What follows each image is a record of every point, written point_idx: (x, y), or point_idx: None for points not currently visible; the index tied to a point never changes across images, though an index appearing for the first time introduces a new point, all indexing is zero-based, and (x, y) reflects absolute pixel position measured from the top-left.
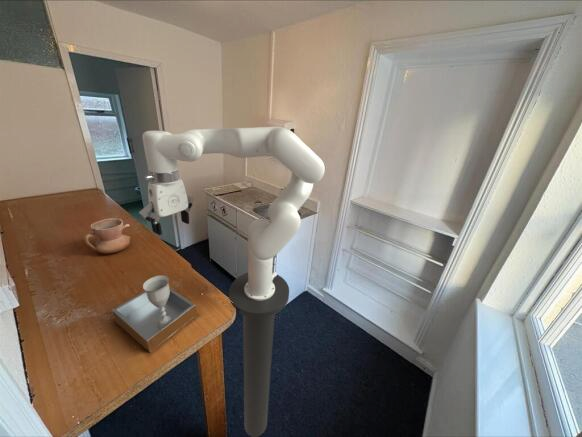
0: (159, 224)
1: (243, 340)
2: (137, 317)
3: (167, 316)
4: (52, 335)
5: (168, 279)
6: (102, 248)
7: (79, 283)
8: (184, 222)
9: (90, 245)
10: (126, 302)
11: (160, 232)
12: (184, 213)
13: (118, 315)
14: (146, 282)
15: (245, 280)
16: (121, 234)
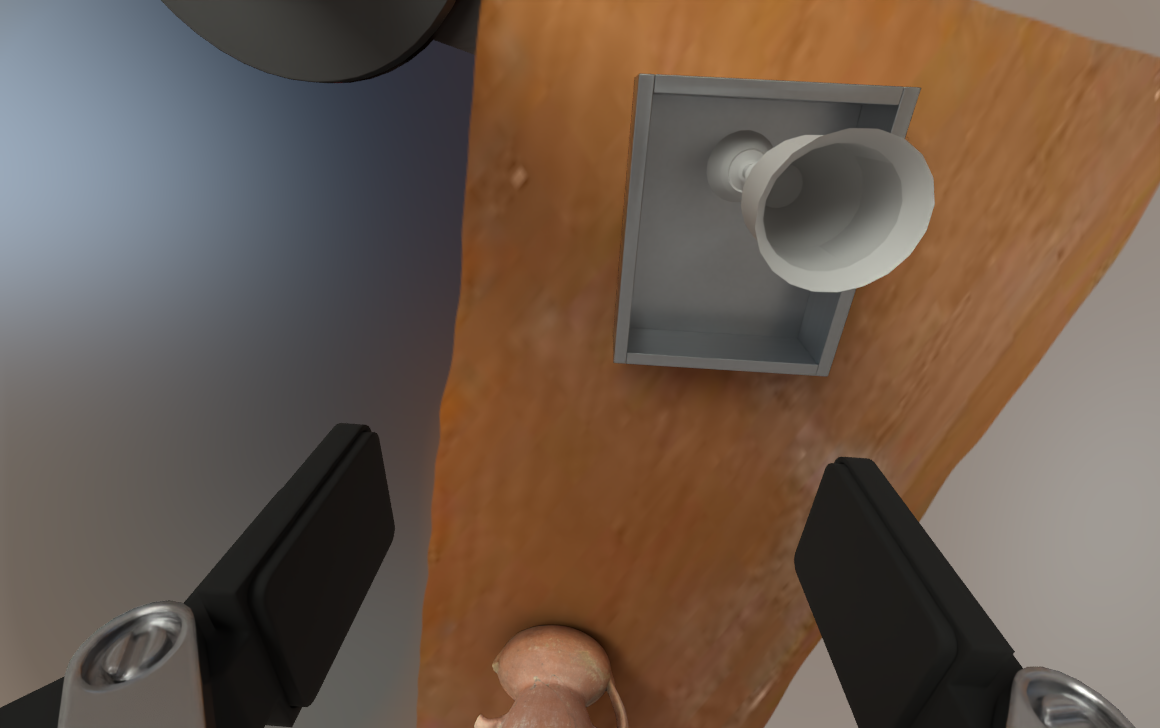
0: (967, 624)
1: (477, 16)
2: (762, 297)
3: (729, 173)
4: (915, 445)
5: (770, 184)
6: (599, 667)
7: (727, 577)
8: (385, 488)
9: (620, 700)
10: (774, 368)
11: (880, 484)
12: (279, 627)
13: (841, 330)
14: (854, 281)
15: (289, 12)
16: (515, 692)
